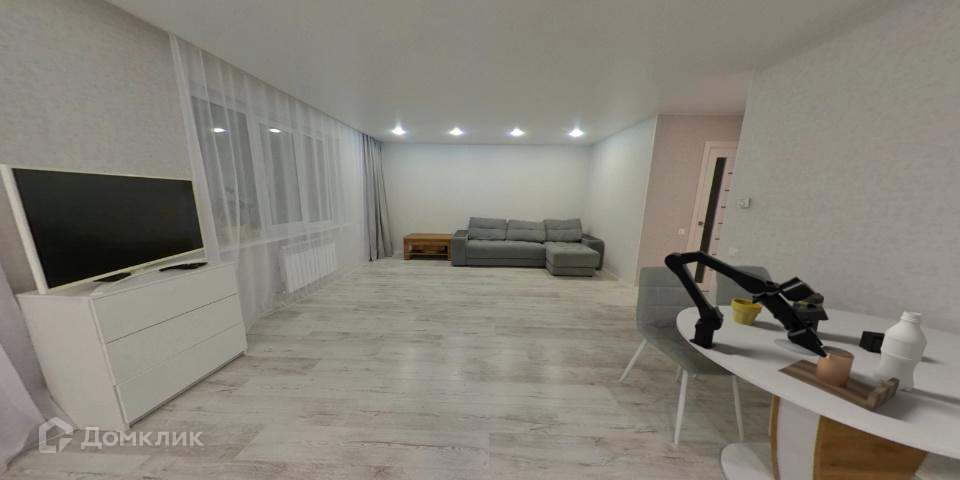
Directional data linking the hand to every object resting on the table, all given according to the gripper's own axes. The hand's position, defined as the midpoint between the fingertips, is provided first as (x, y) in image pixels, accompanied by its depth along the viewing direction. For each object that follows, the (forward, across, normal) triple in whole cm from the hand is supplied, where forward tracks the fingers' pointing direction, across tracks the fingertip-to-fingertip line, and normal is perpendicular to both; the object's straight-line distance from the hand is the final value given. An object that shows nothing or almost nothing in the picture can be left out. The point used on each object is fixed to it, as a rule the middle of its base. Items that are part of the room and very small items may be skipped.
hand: (823, 351), depth 89 cm
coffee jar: (+7, +45, +8) cm, 46 cm away
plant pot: (-6, +39, +21) cm, 45 cm away
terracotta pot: (+8, 0, +5) cm, 9 cm away
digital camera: (+22, +45, -7) cm, 50 cm away
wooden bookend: (+9, 0, +5) cm, 10 cm away
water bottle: (+19, +12, -4) cm, 22 cm away
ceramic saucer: (+5, +22, +10) cm, 24 cm away
